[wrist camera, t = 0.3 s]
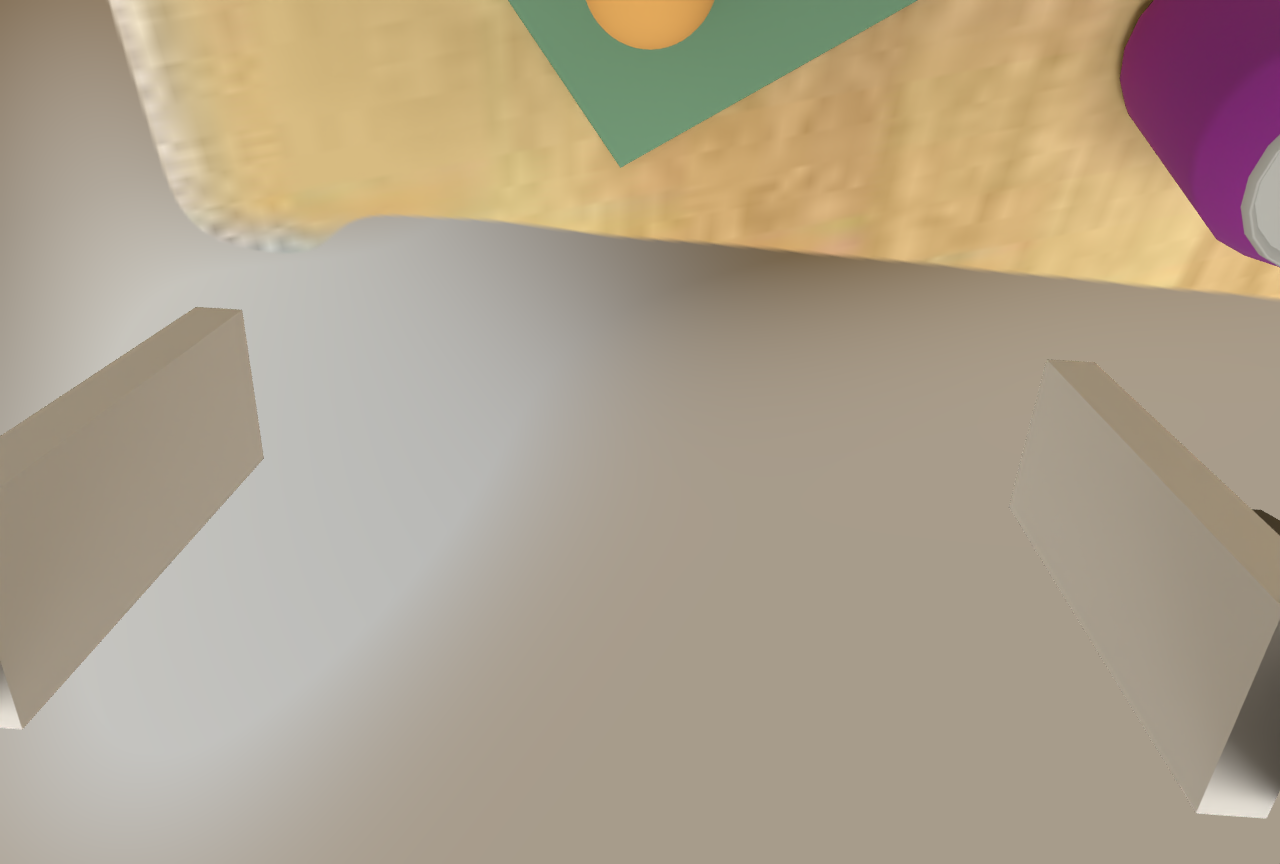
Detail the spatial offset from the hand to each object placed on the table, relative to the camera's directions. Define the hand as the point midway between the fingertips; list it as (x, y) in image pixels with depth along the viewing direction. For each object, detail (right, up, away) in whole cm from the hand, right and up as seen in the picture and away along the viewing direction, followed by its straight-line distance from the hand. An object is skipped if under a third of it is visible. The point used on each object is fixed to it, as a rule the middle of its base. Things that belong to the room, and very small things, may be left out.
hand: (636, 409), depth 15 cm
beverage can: (+23, +15, +21) cm, 34 cm away
